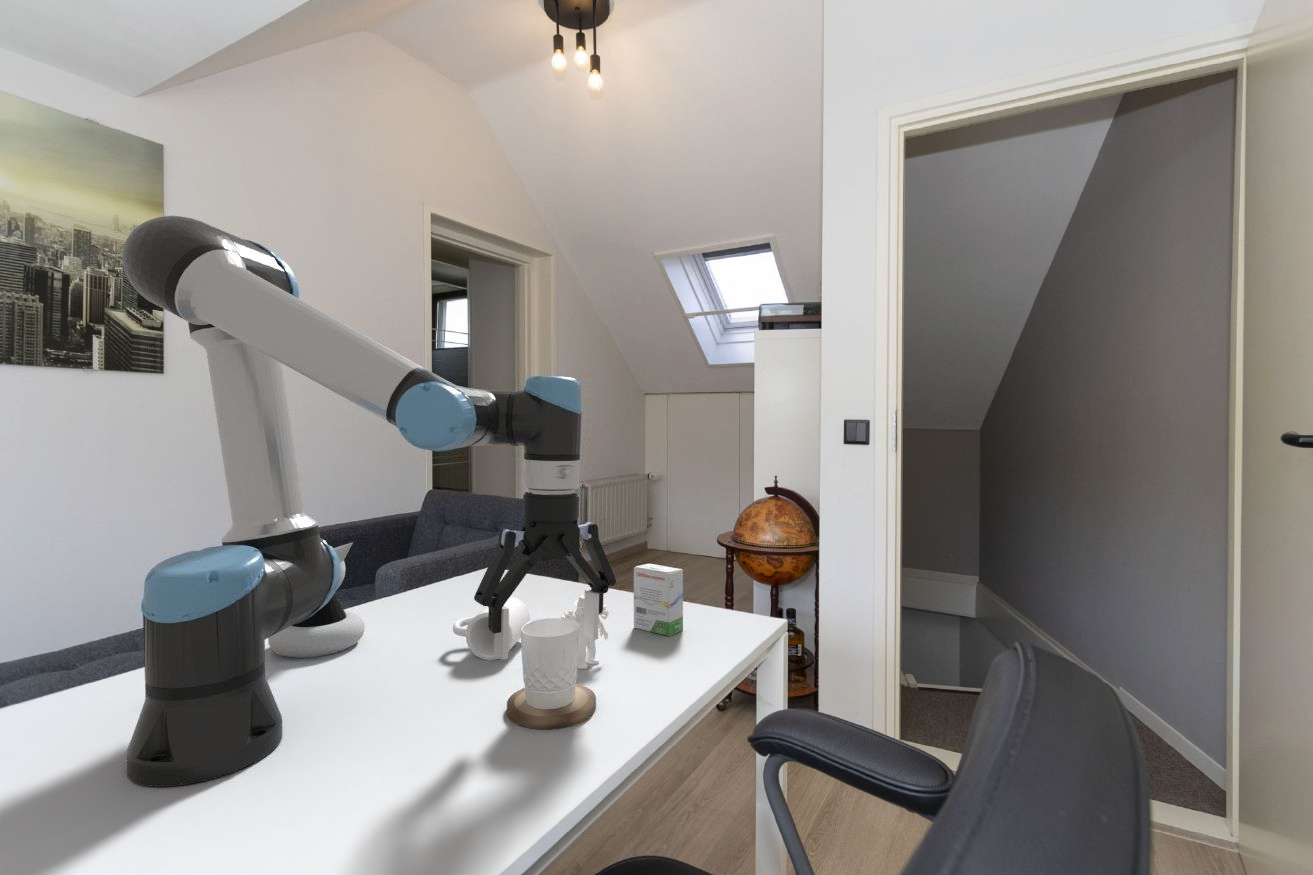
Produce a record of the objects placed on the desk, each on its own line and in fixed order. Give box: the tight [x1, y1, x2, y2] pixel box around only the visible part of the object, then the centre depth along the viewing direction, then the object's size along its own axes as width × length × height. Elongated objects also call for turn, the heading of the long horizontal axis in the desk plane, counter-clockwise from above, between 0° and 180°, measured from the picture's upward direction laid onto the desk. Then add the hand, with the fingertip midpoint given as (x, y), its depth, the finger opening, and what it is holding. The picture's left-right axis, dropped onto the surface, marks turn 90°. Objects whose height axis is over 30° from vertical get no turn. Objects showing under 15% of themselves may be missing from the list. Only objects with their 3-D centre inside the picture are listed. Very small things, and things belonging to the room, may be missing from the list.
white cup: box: [520, 617, 579, 710], centre depth 88 cm, size 8×8×10 cm
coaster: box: [506, 683, 597, 730], centre depth 88 cm, size 12×12×1 cm
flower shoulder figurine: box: [560, 594, 609, 670], centre depth 104 cm, size 9×4×12 cm, turn 137°
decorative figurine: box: [267, 541, 366, 659], centre depth 112 cm, size 15×15×20 cm
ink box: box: [633, 563, 684, 637], centre depth 122 cm, size 8×5×12 cm, turn 53°
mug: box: [452, 596, 531, 661], centre depth 111 cm, size 12×10×8 cm
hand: (547, 646), depth 88 cm, fingers open, 13 cm apart
